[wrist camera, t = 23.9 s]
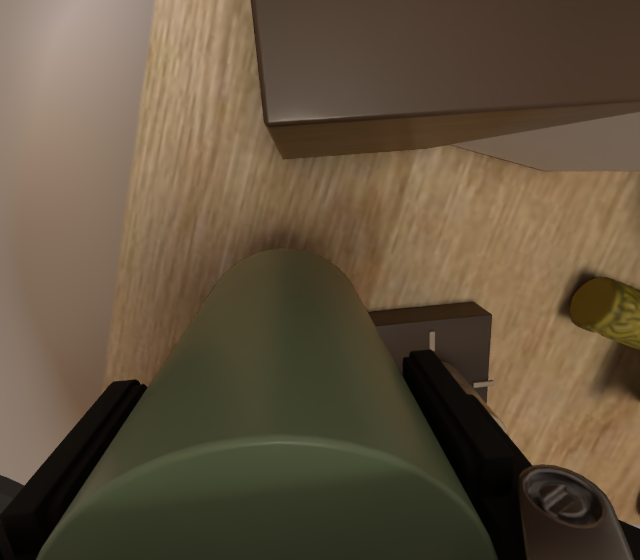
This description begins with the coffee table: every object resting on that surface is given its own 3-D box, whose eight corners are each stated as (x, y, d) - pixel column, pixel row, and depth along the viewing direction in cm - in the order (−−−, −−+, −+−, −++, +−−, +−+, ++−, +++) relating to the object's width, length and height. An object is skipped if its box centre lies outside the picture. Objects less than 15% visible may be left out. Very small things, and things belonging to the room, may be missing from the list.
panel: (472, 420, 29) (489, 444, 27) (363, 433, 29) (371, 458, 26) (478, 301, 26) (498, 314, 24) (358, 312, 26) (365, 328, 23)
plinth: (426, 148, 23) (748, 93, 7) (282, 159, 23) (264, 127, 6) (428, -23, 21) (940, -745, 4) (265, -15, 20) (165, -795, 4)
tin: (365, 385, 17) (491, 745, 6) (217, 401, 16) (89, 809, 6) (359, 241, 15) (523, 408, 4) (192, 255, 15) (-63, 474, 4)
